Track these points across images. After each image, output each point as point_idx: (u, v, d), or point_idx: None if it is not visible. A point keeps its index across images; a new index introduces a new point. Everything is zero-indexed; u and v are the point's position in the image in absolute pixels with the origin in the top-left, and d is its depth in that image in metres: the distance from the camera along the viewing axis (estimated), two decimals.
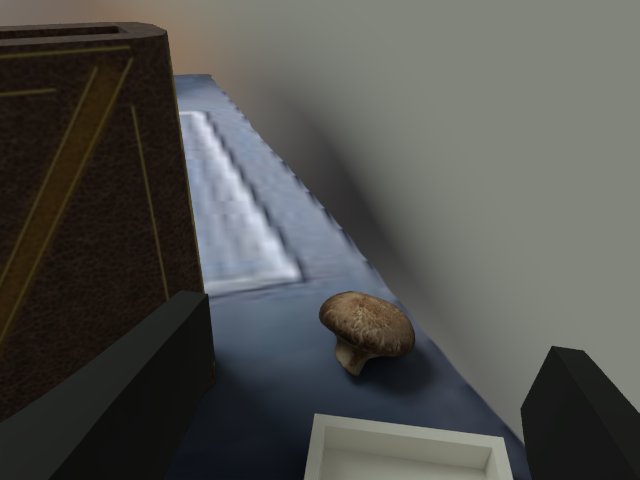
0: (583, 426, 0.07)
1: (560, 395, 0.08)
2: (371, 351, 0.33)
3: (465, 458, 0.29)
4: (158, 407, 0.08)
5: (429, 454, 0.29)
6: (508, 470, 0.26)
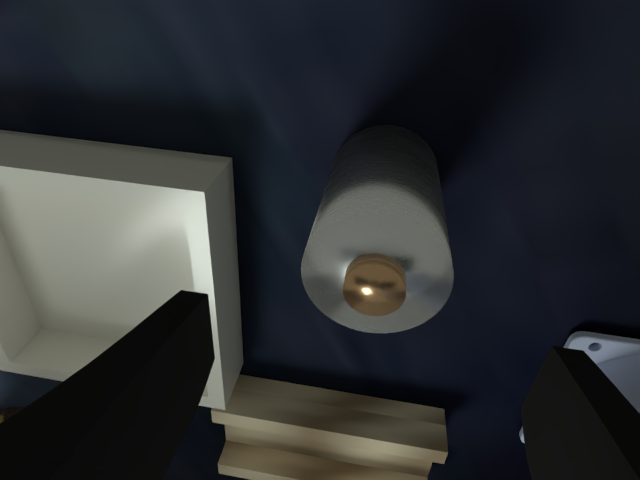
0: (583, 426, 0.07)
1: (560, 395, 0.08)
2: None
3: None
4: (158, 407, 0.08)
5: None
6: None
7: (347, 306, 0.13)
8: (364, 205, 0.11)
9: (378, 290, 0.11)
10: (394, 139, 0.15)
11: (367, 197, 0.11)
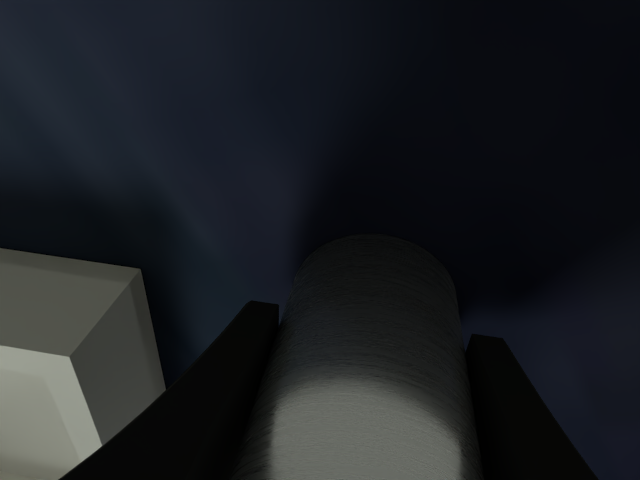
0: (488, 410, 0.08)
1: (474, 381, 0.08)
2: None
3: None
4: (241, 422, 0.08)
5: None
6: None
7: None
8: None
9: None
10: (386, 273, 0.09)
11: None
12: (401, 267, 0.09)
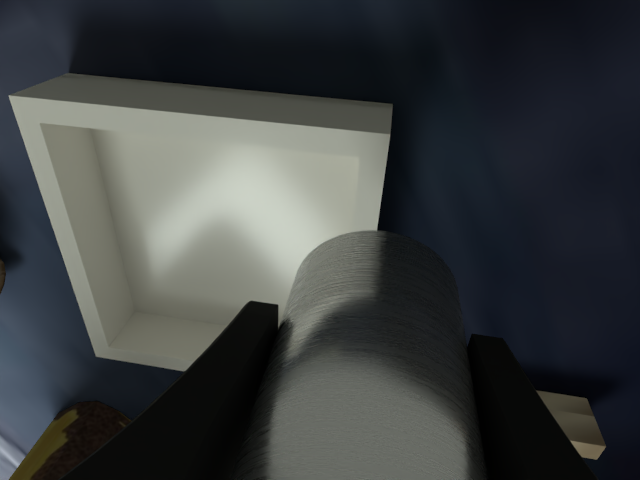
0: (488, 410, 0.08)
1: (474, 381, 0.08)
2: None
3: (77, 145, 0.16)
4: (241, 422, 0.08)
5: (93, 198, 0.18)
6: (73, 106, 0.14)
7: None
8: None
9: None
10: (389, 270, 0.09)
11: (330, 479, 0.05)
12: (404, 264, 0.09)
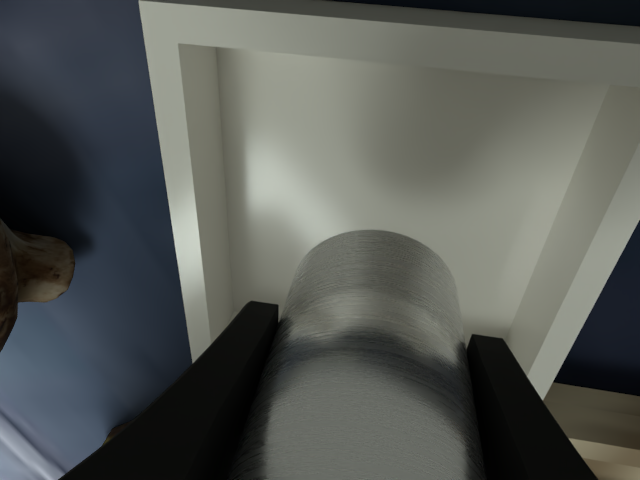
0: (488, 410, 0.08)
1: (474, 381, 0.08)
2: (13, 280, 0.15)
3: (206, 86, 0.12)
4: (241, 422, 0.08)
5: (213, 162, 0.13)
6: (235, 15, 0.10)
7: None
8: None
9: None
10: (389, 270, 0.09)
11: (330, 479, 0.05)
12: (404, 264, 0.09)
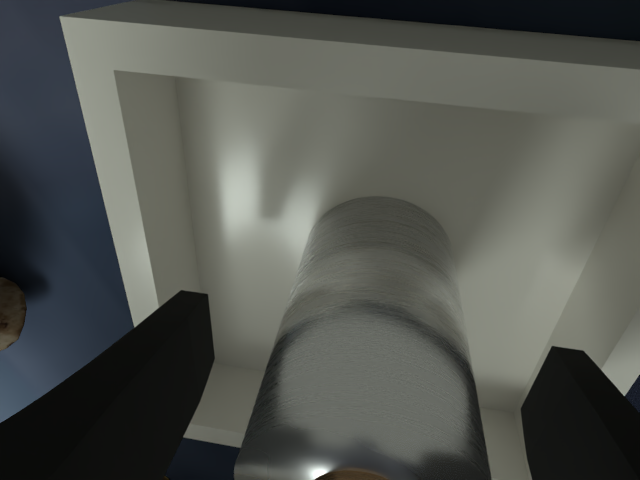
0: (583, 426, 0.07)
1: (560, 395, 0.08)
2: None
3: (160, 117, 0.10)
4: (158, 407, 0.08)
5: (175, 204, 0.11)
6: (183, 36, 0.07)
7: None
8: (340, 396, 0.06)
9: None
10: (393, 226, 0.10)
11: (347, 371, 0.07)
12: (406, 223, 0.10)
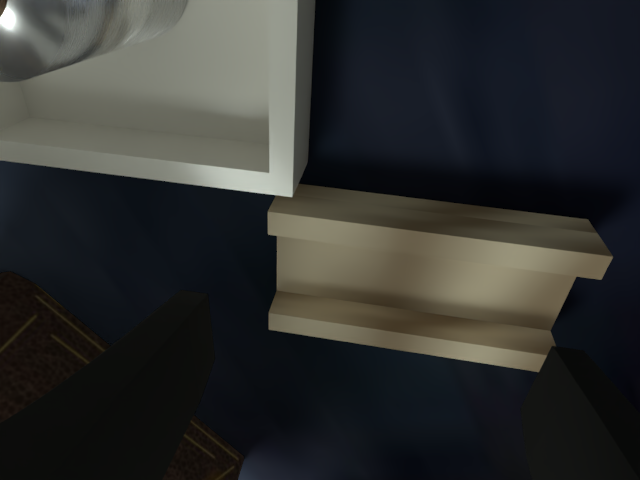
0: (583, 426, 0.07)
1: (560, 395, 0.08)
2: None
3: None
4: (158, 407, 0.08)
5: None
6: None
7: None
8: None
9: None
10: None
11: None
12: None
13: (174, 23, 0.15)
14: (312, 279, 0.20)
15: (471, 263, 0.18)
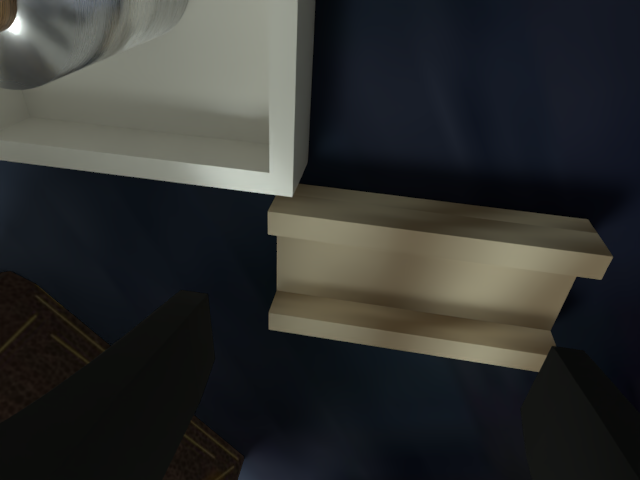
0: (583, 426, 0.07)
1: (560, 395, 0.08)
2: None
3: None
4: (158, 407, 0.08)
5: None
6: None
7: None
8: None
9: None
10: None
11: None
12: None
13: (176, 22, 0.15)
14: (312, 279, 0.20)
15: (471, 263, 0.18)
